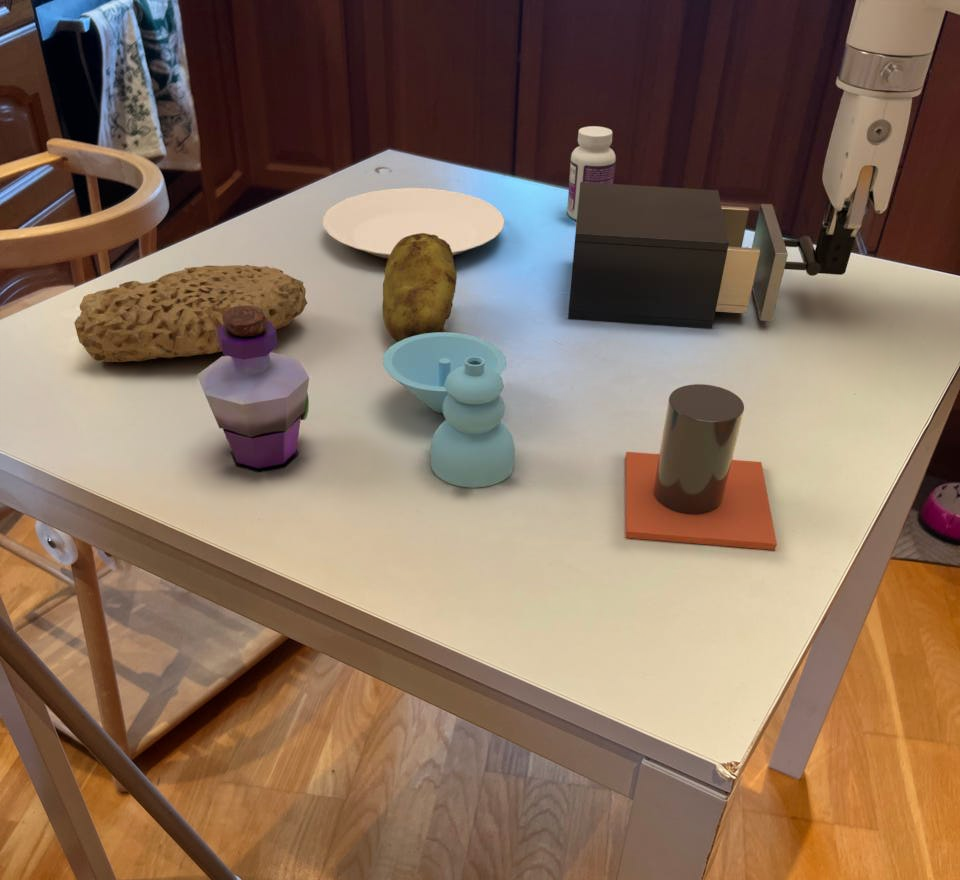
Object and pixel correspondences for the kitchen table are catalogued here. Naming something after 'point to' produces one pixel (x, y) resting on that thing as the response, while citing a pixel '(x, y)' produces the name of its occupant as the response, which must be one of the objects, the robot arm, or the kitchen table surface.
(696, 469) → the dark glossy cylinder
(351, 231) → the plate
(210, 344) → the sponge
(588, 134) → the pill bottle
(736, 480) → the mat
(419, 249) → the potato
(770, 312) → the drawer
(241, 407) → the potion bottle
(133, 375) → the kitchen table surface
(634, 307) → the dark brown box
